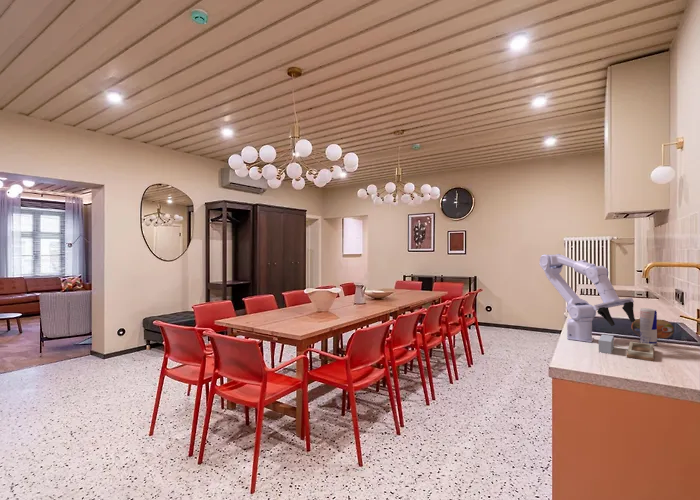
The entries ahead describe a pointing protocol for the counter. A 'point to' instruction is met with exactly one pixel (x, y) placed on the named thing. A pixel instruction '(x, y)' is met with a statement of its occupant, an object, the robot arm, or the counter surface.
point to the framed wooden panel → (641, 351)
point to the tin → (663, 328)
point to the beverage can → (648, 326)
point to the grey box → (606, 344)
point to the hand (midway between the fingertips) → (623, 323)
